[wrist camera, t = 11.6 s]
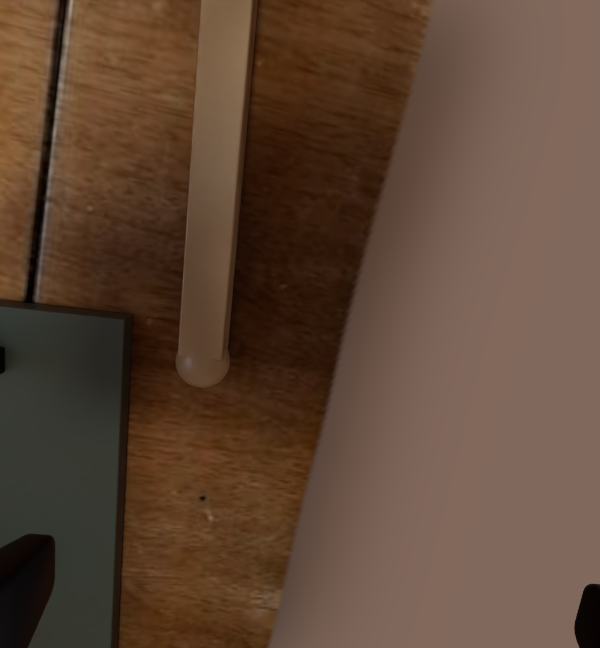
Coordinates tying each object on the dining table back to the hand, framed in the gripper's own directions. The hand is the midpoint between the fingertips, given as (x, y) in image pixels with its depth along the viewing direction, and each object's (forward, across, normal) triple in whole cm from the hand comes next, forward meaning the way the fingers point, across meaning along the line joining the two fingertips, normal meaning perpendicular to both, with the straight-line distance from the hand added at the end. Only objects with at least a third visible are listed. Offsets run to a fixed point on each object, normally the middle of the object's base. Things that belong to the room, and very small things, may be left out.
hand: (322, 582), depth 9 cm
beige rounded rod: (+12, +4, -8) cm, 15 cm away
